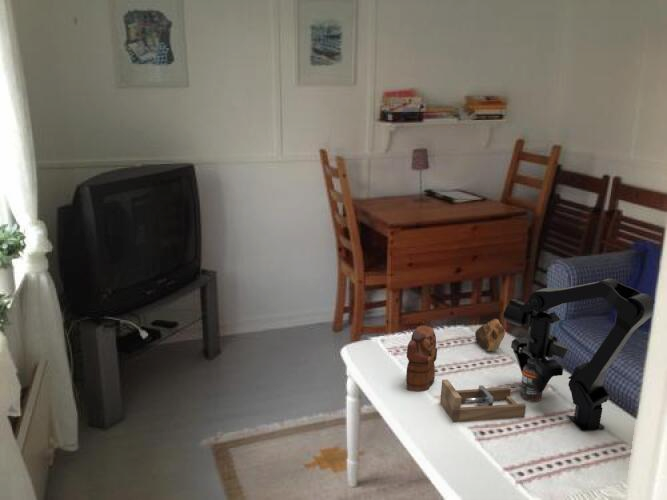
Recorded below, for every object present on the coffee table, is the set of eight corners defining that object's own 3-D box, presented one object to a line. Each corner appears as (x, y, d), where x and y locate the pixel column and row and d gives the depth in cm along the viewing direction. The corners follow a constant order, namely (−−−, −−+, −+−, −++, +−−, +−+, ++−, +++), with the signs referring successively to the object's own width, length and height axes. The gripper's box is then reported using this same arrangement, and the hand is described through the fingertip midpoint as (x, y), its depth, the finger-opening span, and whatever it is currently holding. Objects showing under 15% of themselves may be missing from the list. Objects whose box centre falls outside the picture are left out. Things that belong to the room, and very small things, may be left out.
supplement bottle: (538, 392, 172) (543, 357, 169) (543, 403, 166) (549, 366, 163) (517, 391, 172) (522, 355, 169) (521, 401, 167) (526, 364, 164)
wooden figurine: (422, 395, 168) (427, 336, 163) (402, 389, 171) (406, 331, 167) (438, 379, 178) (443, 323, 173) (418, 373, 181) (423, 318, 176)
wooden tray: (524, 417, 159) (527, 393, 157) (453, 422, 155) (455, 398, 153) (507, 398, 168) (510, 376, 166) (440, 402, 165) (442, 379, 163)
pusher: (491, 414, 158) (493, 397, 157) (469, 416, 157) (471, 399, 156) (481, 401, 165) (482, 385, 164) (459, 402, 164) (461, 386, 163)
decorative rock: (504, 354, 196) (508, 324, 193) (487, 356, 195) (491, 325, 192) (487, 339, 207) (490, 310, 205) (471, 341, 206) (474, 311, 203)
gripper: (585, 345, 157) (576, 398, 161) (548, 319, 174) (542, 367, 178) (546, 347, 155) (538, 401, 159) (513, 320, 172) (507, 369, 177)
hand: (532, 383), depth 168 cm, fingers open, 9 cm apart
